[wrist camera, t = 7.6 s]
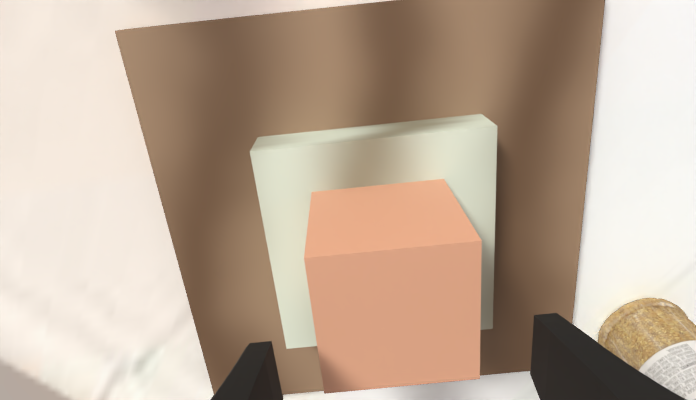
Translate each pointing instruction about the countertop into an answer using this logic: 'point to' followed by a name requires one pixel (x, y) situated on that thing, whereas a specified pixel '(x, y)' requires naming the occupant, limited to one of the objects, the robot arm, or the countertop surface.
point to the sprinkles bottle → (655, 343)
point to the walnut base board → (361, 87)
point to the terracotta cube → (393, 286)
